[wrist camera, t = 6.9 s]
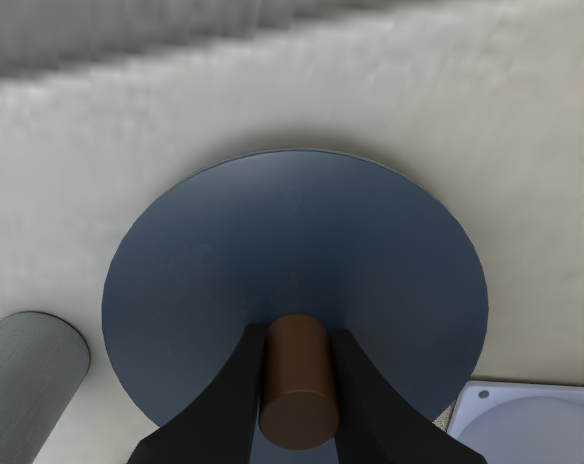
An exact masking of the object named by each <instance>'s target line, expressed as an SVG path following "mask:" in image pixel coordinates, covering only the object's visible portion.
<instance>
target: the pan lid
mask: <svg viewBox="0 0 584 464" xmlns="http://www.w3.org/2000/svg"><path fill="white" fill-rule="evenodd" d="M487 321H488V295H487V286H486V282H485V277H484V273H483V269H482V265H481V263H480V261H479V258H478V256H477V253H476V251H475V249H474V246H473V244H472V243H471V241H470V239H469V238H468V236H467V235H466V233H465V231H464V230H463V228H462V227H461V225H460V224H459V223H458V221H457V220H456V219H455V218H454V217H453V216H452V215H451V213H450V212H449V211H448V210H447V209H446V208H445V206H444V205H443V204H442V203H441V202H439V201H438V200H437V199H436V198H435V197H434V196H432V195H431V194H430V193H429V192H428V191H427V190H425V189H424V188H423V187H422V186H421V185H419V184H418V183H416V182H414V181H413V180H411V179H410V178H408V177H406V176H405V175H403V174H402V173H400V172H398V171H396V170H394V169H392V168H390V167H387V166H385V165H383V164H381V163H378V162H376V161H374V160H371V159H368V158H364V157H361V156H357V155H354V154H350V153H347V152H342V151H335V150H329V149H322V148H309V147H283V148H274V149H266V150H257V151H253V152H249V153H245V154H241V155H237V156H233V157H229V158H227V159H224V160H222V161H219V162H216V163H214V164H211V165H209V166H206V167H204V168H202V169H200V170H198V171H196V172H195V173H193V174H191V175H189V176H188V177H186V178H184V179H182V180H181V181H179V182H177V183H176V184H175V185H174V186H172V187H171V188H170V189H168V190H167V191H166V192H164V193H163V194H162V195H161V196H159V197H158V198H157V199H156V200H155V201H154V202H153V203H152V204H151V205H150V206H149V207H148V208H147V209H146V210H145V211H144V212H143V213H142V214H141V215H140V216H139V218H138V219H137V220H136V221H135V223H134V224H133V226H132V227H131V228H130V230H129V231H128V233H127V234H126V235H125V237H124V238H123V240H122V241H121V243H120V245H119V247H118V249H117V251H116V253H115V255H114V257H113V259H112V261H111V264H110V268H109V271H108V274H107V277H106V281H105V284H104V291H103V298H102V330H103V335H104V341H105V346H106V350H107V353H108V356H109V359H110V361H111V364H112V367H113V369H114V371H115V373H116V375H117V377H118V379H119V381H120V383H121V384H122V386H123V388H124V389H125V391H126V392H127V393H128V395H129V396H130V398H131V399H132V400H133V402H134V403H135V404H136V405H137V406H138V407H139V408H140V410H141V411H142V412H143V413H144V414H145V415H146V416H147V417H148V418H149V419H150V420H151V421H153V422H154V423H155V424H156V425H157V426H159V427H160V428H161V427H162V426H164V425H165V424H166V423H168V422H169V421H170V420H171V419H173V418H174V417H175V416H176V415H177V414H179V413H180V412H181V411H182V410H184V409H185V408H186V407H187V406H188V405H189V404H190V403H191V402H192V401H193V400H194V399H195V398H196V397H197V396H198V395H199V394H200V393H201V392H202V391H203V390H204V389H205V388H206V387H207V386H208V385H209V384H210V382H211V381H212V380H213V379H214V378H215V376H216V375H217V374H218V373H219V371H220V370H221V368H222V367H223V366H224V364H225V363H226V362H227V360H228V359H229V357H230V356H231V354H232V352H233V351H234V349H235V347H236V346H237V344H238V342H239V340H240V338H241V336H242V334H243V332H244V329H245V326H246V325H247V324H249V323H252V324H266V330H265V344H264V357H263V365H262V373H261V387H260V401H259V408H258V413H257V419H256V425H255V431H254V436H253V442H252V448H251V454H250V462H249V464H339V462H338V455H337V450H336V444H335V439H334V435H335V434H336V432H337V431H338V428H339V426H340V420H341V417H340V409H339V403H338V396H337V390H336V383H335V377H334V370H333V364H332V357H331V350H330V340H331V333H332V329H348V330H350V331H351V333H352V334H353V336H354V337H355V339H356V340H357V342H358V343H359V345H360V346H361V348H362V349H363V351H364V352H365V353H366V355H367V356H368V358H369V359H370V360H371V362H372V363H373V364H374V365H375V367H376V368H377V369H378V371H379V372H380V373H381V374H382V376H383V377H384V378H385V379H386V380H387V381H388V383H389V384H390V385H391V386H392V387H393V388H394V389H395V390H396V391H397V392H398V393H399V394H400V395H401V396H402V397H403V398H404V399H405V400H406V401H407V402H408V403H409V404H410V405H411V406H412V407H414V408H415V409H416V410H417V411H418V412H419V413H421V414H422V415H423V416H424V417H426V418H427V419H428V420H429V421H431V422H433V421H434V420H436V419H437V418H438V417H439V416H440V415H441V414H442V413H443V412H444V411H445V410H446V409H447V408H448V407H449V406H450V405H451V403H452V402H453V401H454V400H455V398H456V397H457V396H458V394H459V393H460V392H461V390H462V389H463V388H464V386H465V384H466V383H467V381H468V379H469V378H470V376H471V374H472V372H473V371H474V369H475V366H476V364H477V361H478V359H479V356H480V354H481V351H482V348H483V344H484V340H485V336H486V331H487Z"/></svg>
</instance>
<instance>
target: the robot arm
mask: <svg viewBox="0 0 584 464" xmlns="http://www.w3.org/2000/svg"><path fill="white" fill-rule="evenodd" d="M265 330H266V324H252V323H249V324H247V325H246V326H245V329H244V332H243V334H242V336H241V338H240V340H239V342H238V344H237V346H236V347H235V349H234V351H233V352H232V354H231V356H230V357H229V359H228V360H227V362H226V363H225V364H224V366H223V367H222V368H221V370H220V371H219V373H218V374H217V375H216V376H215V378H214V379H213V380H212V381H211V382H210V384H209V385H208V386H207V387H206V388H205V389H204V390H203V391H202V392H201V393H200V394H199V395H198V396H197V397H196V398H195V399H194V400H193V401H192V402H191V403H190V404H189V405H188V406H187V407H186V408H185V409H184V410H182V411H181V412H180V413H179V414H177V415H176V416H175V417H174V418H173V419H171V420H170V421H169V422H168V423H166V424H165V425H164V426H162V427H161V428H159V429H158V430H156V431H155V432H153V433H152V434H150V435H149V436H147V437H145V438H144V439H142V440H141V441H140V442H139V443H138V445H137V447H136V448H135V450H134V451H133V453H132V455H131V457H130V458H129V460H128V462H127V464H249V462H250V454H251V448H252V442H253V436H254V431H255V425H256V419H257V413H258V408H259V401H260V387H261V373H262V365H263V357H264V344H265ZM330 350H331V357H332V364H333V370H334V377H335V383H336V390H337V396H338V403H339V409H340V417H341V420H340V426H339V428H338V431H337V432H336V434H335V435H334V439H335V444H336V450H337V455H338V462H339V464H584V387H573V386H556V385H539V384H522V383H505V382H488V381H468V382H467V383H466V384H465V386H464V388H463V389H462V390H461V392H460V393H459V395H458V398H457V402H456V405H455V408H454V411H453V414H452V417H451V421H450V424H449V427H448V430H447V433H446V432H444V431H443V430H441V429H440V428H439V427H437V426H436V425H435V424H433V423H432V422H431V421H429V420H428V419H427V418H426V417H424V416H423V415H422V414H421V413H419V412H418V411H417V410H416V409H415V408H414V407H412V406H411V405H410V404H409V403H408V402H407V401H406V400H405V399H404V398H403V397H402V396H401V395H400V394H399V393H398V392H397V391H396V390H395V389H394V388H393V387H392V386H391V385H390V384H389V383H388V381H387V380H386V379H385V378H384V377H383V376H382V374H381V373H380V372H379V371H378V369H377V368H376V367H375V365H374V364H373V363H372V362H371V360H370V359H369V358H368V356H367V355H366V353H365V352H364V351H363V349H362V348H361V346H360V345H359V343H358V342H357V340H356V339H355V337H354V336H353V334H352V333H351V331H350V330H348V329H332V333H331V340H330ZM483 390H485V391H483ZM481 391H483V392H481Z"/></svg>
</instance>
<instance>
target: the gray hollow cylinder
mask: <svg viewBox="0 0 584 464" xmlns="http://www.w3.org/2000/svg"><path fill="white" fill-rule="evenodd" d="M89 359H90V358H89V352H88V349H87V346H86V344H85V342H84V340H83V339H82V337H81V336H80V335H79V334H78V333H77V331H75V330H74V329H73V328H72V327H71V326H69V325H68V324H67V323H65V322H63V321H62V320H60V319H57V318H55V317H53V316H50V315H46V314H41V313H34V312H25V313H18V314H14V315H11V316H8V317H6V318H4V319H3V320H1V321H0V464H32V463H33V461H34V459H35V458H36V456H37V454H38V453H39V451H40V449H41V448H42V446H43V445H44V443H45V441H46V440H47V438H48V436H49V435H50V433H51V431H52V430H53V428H54V426H55V425H56V423H57V421H58V420H59V418H60V417H61V415H62V413H63V412H64V410H65V408H66V407H67V405H68V403H69V402H70V400H71V398H72V397H73V395H74V394H75V392H76V390H77V389H78V387H79V385H80V384H81V382H82V380H83V378H84V376H85V374H86V372H87V370H88V367H89Z"/></svg>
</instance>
